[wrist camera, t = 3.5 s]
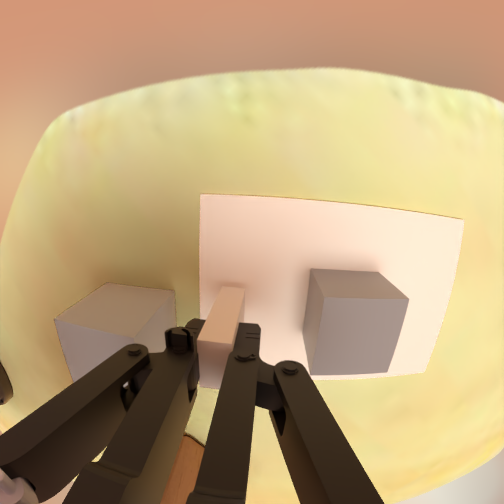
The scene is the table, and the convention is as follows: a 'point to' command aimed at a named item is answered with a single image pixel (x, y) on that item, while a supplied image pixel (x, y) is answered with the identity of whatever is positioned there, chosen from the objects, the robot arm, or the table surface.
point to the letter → (325, 266)
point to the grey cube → (351, 322)
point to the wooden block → (183, 472)
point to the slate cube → (114, 324)
